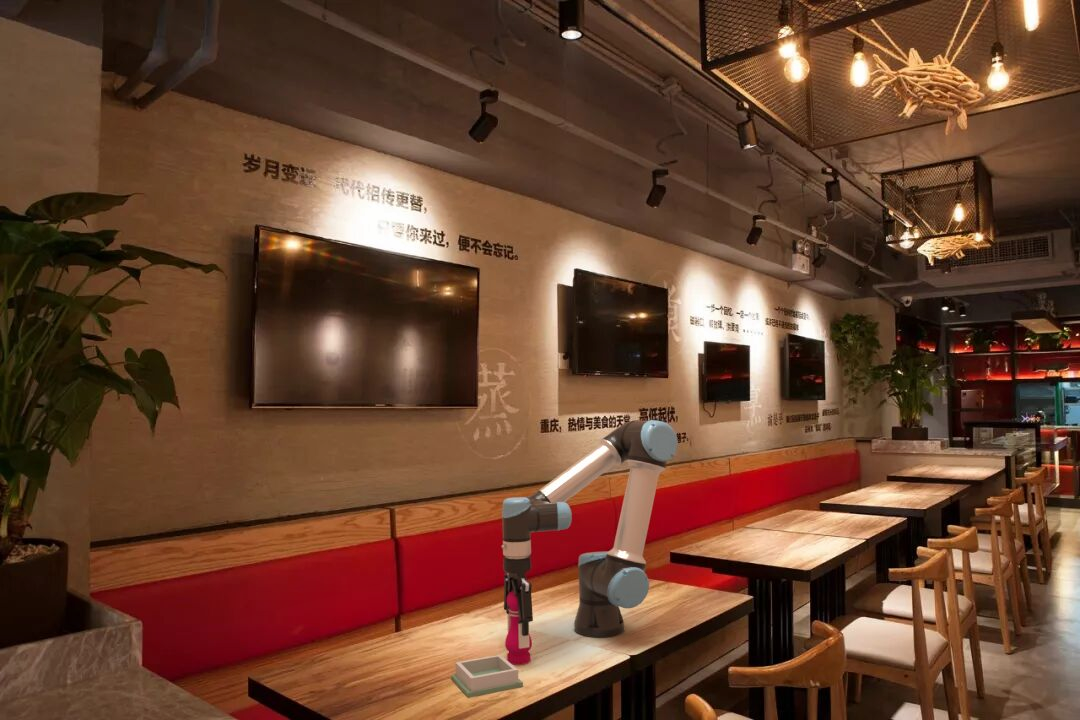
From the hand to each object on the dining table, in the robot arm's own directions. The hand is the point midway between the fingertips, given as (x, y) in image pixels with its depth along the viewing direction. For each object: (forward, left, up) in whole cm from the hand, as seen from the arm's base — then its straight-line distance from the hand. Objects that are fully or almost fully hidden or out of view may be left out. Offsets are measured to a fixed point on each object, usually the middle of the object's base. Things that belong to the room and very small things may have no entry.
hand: (518, 643), depth 187 cm
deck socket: (+13, +11, -5) cm, 17 cm away
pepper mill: (0, 0, -5) cm, 5 cm away
